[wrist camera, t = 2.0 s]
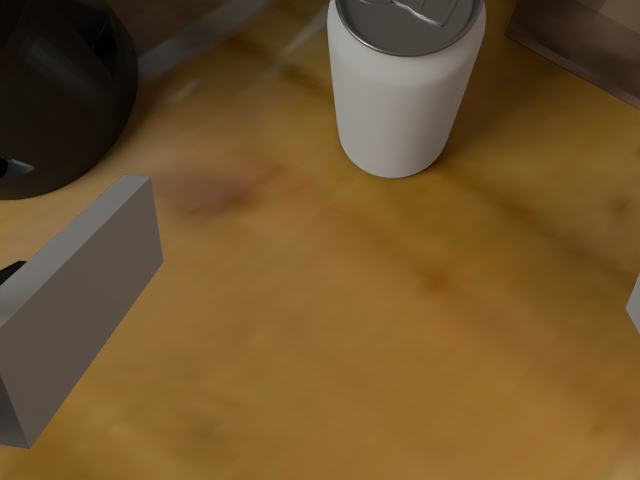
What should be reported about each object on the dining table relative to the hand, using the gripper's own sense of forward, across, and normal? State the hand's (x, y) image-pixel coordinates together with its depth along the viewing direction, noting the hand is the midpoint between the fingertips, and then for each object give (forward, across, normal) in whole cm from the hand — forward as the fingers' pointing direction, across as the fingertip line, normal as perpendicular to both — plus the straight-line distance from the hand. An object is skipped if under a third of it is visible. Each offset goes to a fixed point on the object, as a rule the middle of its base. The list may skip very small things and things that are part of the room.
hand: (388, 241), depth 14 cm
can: (+19, 0, -4) cm, 19 cm away
